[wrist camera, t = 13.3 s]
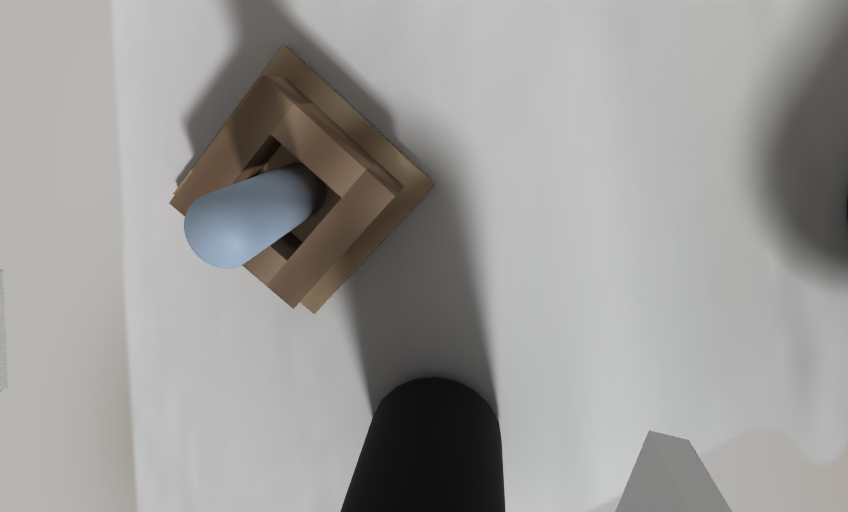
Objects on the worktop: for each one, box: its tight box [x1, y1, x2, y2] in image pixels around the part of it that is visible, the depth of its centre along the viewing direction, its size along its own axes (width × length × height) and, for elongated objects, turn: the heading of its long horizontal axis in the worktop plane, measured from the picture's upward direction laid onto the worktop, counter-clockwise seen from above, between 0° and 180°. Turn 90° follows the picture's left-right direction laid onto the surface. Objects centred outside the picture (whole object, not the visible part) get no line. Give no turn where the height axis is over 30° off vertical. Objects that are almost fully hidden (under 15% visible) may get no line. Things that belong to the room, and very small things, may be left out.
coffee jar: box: [341, 377, 505, 512], centre depth 35 cm, size 11×11×18 cm
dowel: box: [184, 163, 327, 268], centre depth 32 cm, size 4×4×12 cm
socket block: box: [170, 45, 434, 314], centre depth 37 cm, size 14×14×5 cm
